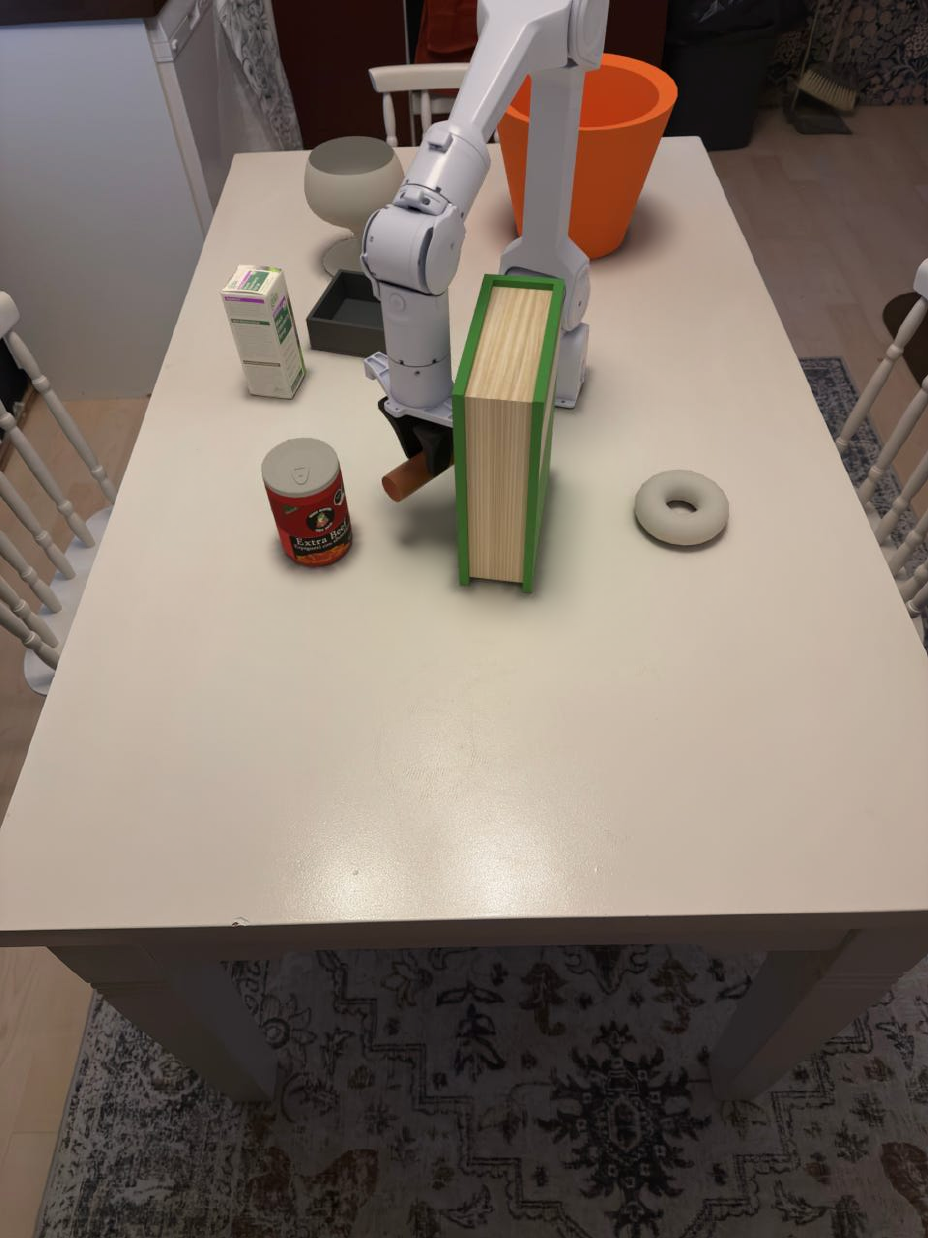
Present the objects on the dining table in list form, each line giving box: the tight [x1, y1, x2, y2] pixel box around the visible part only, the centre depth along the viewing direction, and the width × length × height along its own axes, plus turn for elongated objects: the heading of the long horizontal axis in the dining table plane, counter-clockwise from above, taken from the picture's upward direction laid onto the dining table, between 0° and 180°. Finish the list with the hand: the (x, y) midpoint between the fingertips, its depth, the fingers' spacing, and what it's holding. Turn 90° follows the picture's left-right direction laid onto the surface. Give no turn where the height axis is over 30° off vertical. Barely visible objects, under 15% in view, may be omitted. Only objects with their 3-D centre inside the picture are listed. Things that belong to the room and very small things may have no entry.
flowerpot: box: [496, 52, 679, 261], centre depth 119 cm, size 25×25×20 cm
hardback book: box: [451, 273, 565, 594], centre depth 81 cm, size 18×7×24 cm, turn 171°
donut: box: [634, 469, 730, 546], centre depth 89 cm, size 10×4×10 cm
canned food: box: [260, 437, 353, 567], centre depth 85 cm, size 8×8×11 cm
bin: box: [305, 269, 387, 359], centre depth 111 cm, size 13×12×4 cm
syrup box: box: [220, 264, 307, 400], centre depth 101 cm, size 6×6×14 cm
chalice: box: [303, 135, 406, 277], centre depth 117 cm, size 14×14×15 cm
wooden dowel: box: [381, 449, 454, 503], centre depth 85 cm, size 10×3×3 cm
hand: (427, 462), depth 85 cm, fingers closed on wooden dowel, 3 cm apart
